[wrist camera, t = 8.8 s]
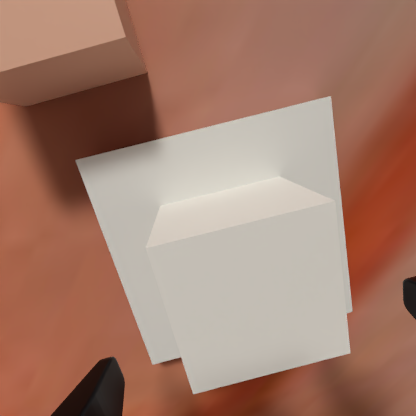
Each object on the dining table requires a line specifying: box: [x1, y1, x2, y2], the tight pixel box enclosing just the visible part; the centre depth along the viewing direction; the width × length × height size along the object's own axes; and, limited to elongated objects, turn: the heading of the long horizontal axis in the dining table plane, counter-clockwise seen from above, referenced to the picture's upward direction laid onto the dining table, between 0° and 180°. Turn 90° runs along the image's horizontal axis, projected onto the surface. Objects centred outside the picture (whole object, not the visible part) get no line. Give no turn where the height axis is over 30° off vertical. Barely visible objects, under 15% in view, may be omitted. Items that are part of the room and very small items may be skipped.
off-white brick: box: [146, 176, 350, 394], centre depth 11 cm, size 6×6×5 cm
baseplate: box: [75, 96, 353, 364], centre depth 14 cm, size 12×12×2 cm
